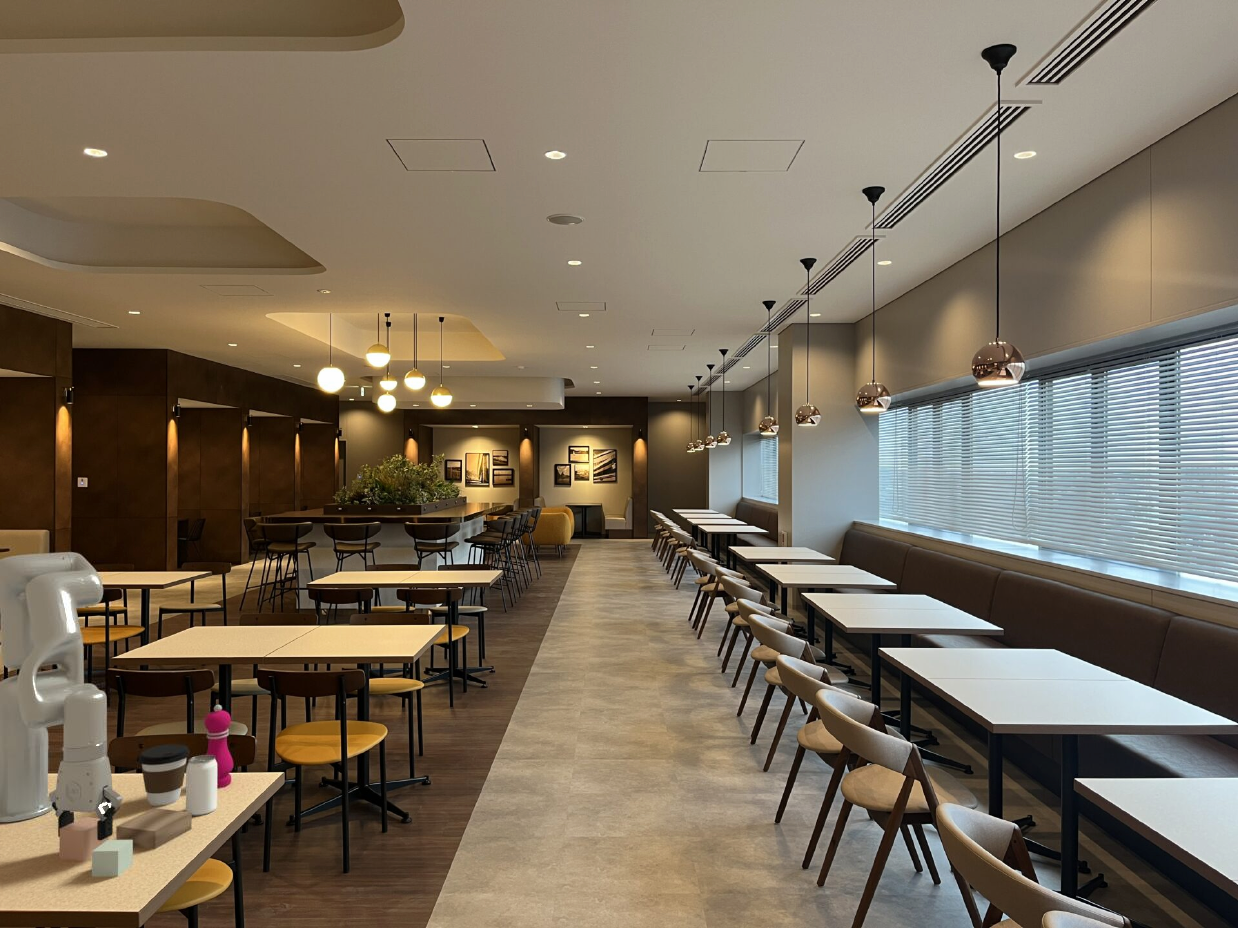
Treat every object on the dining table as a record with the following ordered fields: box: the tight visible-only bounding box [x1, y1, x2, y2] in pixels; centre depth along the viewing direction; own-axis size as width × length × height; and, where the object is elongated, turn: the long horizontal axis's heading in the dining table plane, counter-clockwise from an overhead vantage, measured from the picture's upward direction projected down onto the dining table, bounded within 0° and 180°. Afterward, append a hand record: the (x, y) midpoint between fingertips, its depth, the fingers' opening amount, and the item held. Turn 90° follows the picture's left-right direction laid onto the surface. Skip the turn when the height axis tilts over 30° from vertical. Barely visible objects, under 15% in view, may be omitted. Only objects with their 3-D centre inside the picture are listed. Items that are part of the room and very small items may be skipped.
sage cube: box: [91, 839, 134, 878], centre depth 162 cm, size 5×5×5 cm
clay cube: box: [58, 816, 110, 862], centre depth 170 cm, size 6×6×6 cm
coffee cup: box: [138, 743, 191, 807], centre depth 197 cm, size 11×11×12 cm
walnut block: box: [115, 807, 193, 850], centre depth 178 cm, size 10×10×4 cm
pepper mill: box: [204, 704, 234, 789], centre depth 208 cm, size 7×7×20 cm
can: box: [185, 754, 218, 817], centre depth 191 cm, size 6×6×12 cm
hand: (85, 835), depth 170 cm, fingers open, 9 cm apart
